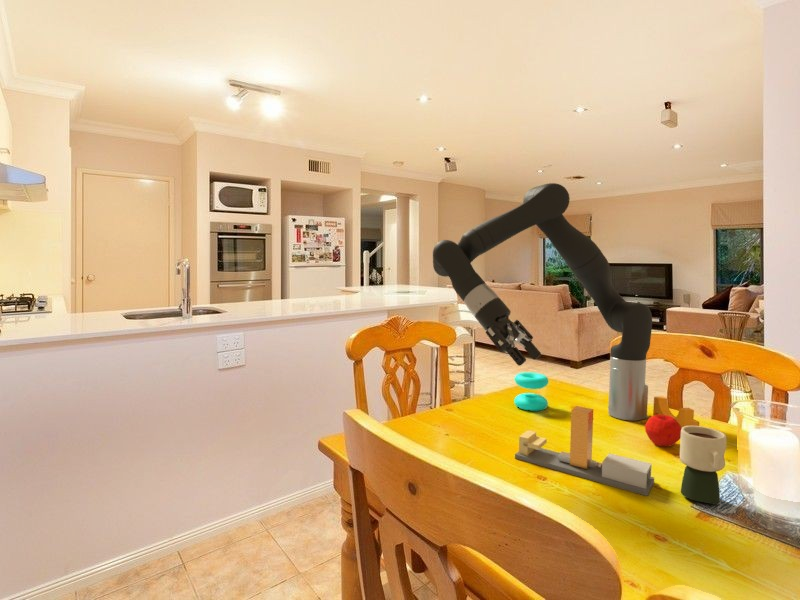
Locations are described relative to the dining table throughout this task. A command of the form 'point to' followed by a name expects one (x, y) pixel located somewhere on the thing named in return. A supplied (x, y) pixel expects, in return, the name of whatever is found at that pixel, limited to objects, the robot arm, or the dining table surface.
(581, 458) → the orange-brown upright block
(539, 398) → the donuts
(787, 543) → the dining table surface
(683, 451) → the mug on green stand
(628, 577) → the dining table surface
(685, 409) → the pipe clamp
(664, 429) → the apple
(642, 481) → the board
